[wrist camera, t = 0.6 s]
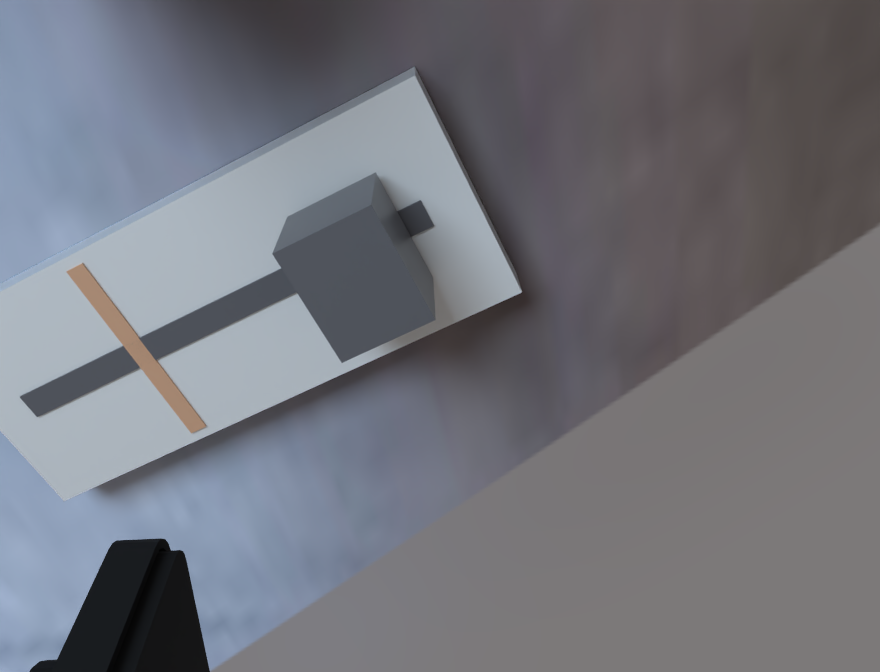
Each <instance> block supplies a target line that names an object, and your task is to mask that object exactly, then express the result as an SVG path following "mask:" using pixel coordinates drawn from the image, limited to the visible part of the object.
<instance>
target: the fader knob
mask: <svg viewBox="0 0 880 672" xmlns="http://www.w3.org/2000/svg"><path fill="white" fill-rule="evenodd" d="M272 254H273V256H274V258H275V259H276V261H277V262H278V264H279V265H280V267H281V269H282V270H283V272H284V273H285V275H286V276H287V278H288V280H289V281H290V283H291V284H292V286H293V287H294V289H295V290H296V292H297V294H298V295H299V297H300V298H301V300H302V301H303V303H304V305H305V306H306V308H307V309H308V311H309V312H310V314H311V316H312V317H313V319H314V320H315V322H316V323H317V325H318V327H319V328H320V330H321V331H322V333H323V334H324V336H325V338H326V339H327V341H328V342H329V344H330V345H331V347H332V349H333V350H334V352H335V353H336V355H337V356H338V358H339V360H340V361H341V363H343V362H345V361H347V360H350V359H352V358H354V357H356V356H358V355H360V354H363V353H365V352H367V351H369V350H371V349H373V348H376V347H378V346H380V345H382V344H384V343H387V342H389V341H391V340H393V339H395V338H397V337H400V336H402V335H404V334H406V333H408V332H411V331H413V330H415V329H417V328H419V327H421V326H424V325H426V324H428V323H430V322H432V321H435V320H436V317H435V300H434V282H433V276H432V274H431V272H430V271H429V269H428V267H427V265H426V263H425V261H424V260H423V258H422V256H421V254H420V252H419V250H418V249H417V247H416V245H415V243H414V241H413V239H412V238H411V236H410V234H409V232H408V230H407V228H406V227H405V225H404V223H403V221H402V219H401V217H400V216H399V214H398V212H397V210H396V208H395V206H394V205H393V203H392V201H391V199H390V197H389V195H388V194H387V192H386V190H385V188H384V186H383V184H382V183H381V181H380V179H379V177H378V175H377V173H376V172H375V173H373V174H371V175H369V176H367V177H365V178H363V179H361V180H359V181H357V182H355V183H353V184H351V185H349V186H347V187H345V188H343V189H341V190H339V191H337V192H335V193H333V194H332V195H330V196H328V197H326V198H324V199H322V200H320V201H318V202H316V203H314V204H312V205H310V206H308V207H306V208H304V209H302V210H300V211H298V212H296V213H294V214H292V215H290V216H288V217H287V219H286V221H285V224H284V226H283V228H282V231H281V233H280V236H279V238H278V241H277V243H276V246H275V248H274V251H273V253H272Z"/></svg>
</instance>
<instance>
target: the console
mask: <svg viewBox="0 0 880 672" xmlns="http://www.w3.org/2000/svg"><path fill="white" fill-rule="evenodd" d="M375 172H376V173H377V175H378V177H379V179H380V181H381V183H382V184H383V186H384V188H385V190H386V192H387V194H388V195H389V197H390V199H391V201H392V203H393V205H394V206H395V208H396V210H397V212H398V214H399V216H400V217H401V219H402V221H403V223H404V225H405V227H406V228H407V230H408V232H409V234H410V236H411V238H412V239H413V241H414V243H415V245H416V247H417V249H418V250H419V252H420V254H421V256H422V258H423V260H424V261H425V263H426V265H427V267H428V269H429V271H430V272H431V274H432V276H433V282H434V300H435V317H436V320H435V321H432V322H430V323H428V324H426V325H424V326H421V327H419V328H417V329H415V330H413V331H411V332H408V333H406V334H404V335H402V336H400V337H397V338H395V339H393V340H391V341H389V342H387V343H384V344H382V345H380V346H378V347H376V348H373V349H371V350H369V351H367V352H365V353H363V354H360V355H358V356H356V357H354V358H352V359H350V360H347V361H345V362H343V363H341V361H340V360H339V358H338V356H337V355H336V353H335V352H334V350H333V349H332V347H331V345H330V344H329V342H328V341H327V339H326V338H325V336H324V334H323V333H322V331H321V330H320V328H319V327H318V325H317V323H316V322H315V320H314V319H313V317H312V316H311V314H310V312H309V311H308V309H307V308H306V306H305V305H304V303H303V301H302V300H301V298H300V297H299V295H298V294H297V292H296V290H295V289H294V287H293V286H292V284H291V283H290V281H289V280H288V278H287V276H286V275H285V273H284V272H283V270H282V269H281V267H280V265H279V264H278V262H277V261H276V259H275V258H274V256H273V254H272V253H273V251H274V248H275V246H276V243H277V241H278V238H279V236H280V233H281V231H282V228H283V226H284V224H285V221H286V219H287V217H288V216H290V215H292V214H294V213H296V212H298V211H300V210H302V209H304V208H306V207H308V206H310V205H312V204H314V203H316V202H318V201H320V200H322V199H324V198H326V197H328V196H330V195H332V194H333V193H335V192H337V191H339V190H341V189H343V188H345V187H347V186H349V185H351V184H353V183H355V182H357V181H359V180H361V179H363V178H365V177H367V176H369V175H371V174H373V173H375ZM520 293H522V290H521V286H520V283H519V280H518V276H517V273H516V271H515V269H514V267H513V265H512V263H511V261H510V259H509V257H508V255H507V253H506V251H505V249H504V247H503V245H502V243H501V241H500V239H499V237H498V235H497V233H496V231H495V228H494V226H493V224H492V222H491V220H490V218H489V216H488V214H487V212H486V210H485V208H484V206H483V204H482V202H481V200H480V198H479V196H478V194H477V192H476V190H475V188H474V186H473V184H472V182H471V180H470V178H469V176H468V174H467V172H466V170H465V167H464V165H463V163H462V161H461V159H460V157H459V155H458V153H457V151H456V149H455V147H454V145H453V143H452V141H451V139H450V137H449V135H448V133H447V131H446V129H445V127H444V125H443V123H442V121H441V119H440V117H439V115H438V113H437V111H436V109H435V106H434V104H433V102H432V100H431V98H430V96H429V94H428V92H427V90H426V88H425V86H424V84H423V82H422V80H421V78H420V76H419V74H418V72H417V70H416V68H415V67H413V68H411V69H409V70H407V71H405V72H403V73H401V74H400V75H398V76H396V77H394V78H392V79H390V80H388V81H386V82H384V83H382V84H380V85H379V86H377V87H375V88H373V89H371V90H369V91H367V92H365V93H363V94H361V95H359V96H357V97H356V98H354V99H352V100H350V101H348V102H346V103H344V104H342V105H340V106H338V107H336V108H335V109H333V110H331V111H329V112H327V113H325V114H323V115H321V116H319V117H317V118H315V119H314V120H312V121H310V122H308V123H306V124H304V125H302V126H300V127H298V128H296V129H294V130H293V131H291V132H289V133H287V134H285V135H283V136H281V137H279V138H277V139H275V140H273V141H272V142H270V143H268V144H266V145H264V146H262V147H260V148H258V149H256V150H254V151H252V152H251V153H249V154H247V155H245V156H243V157H241V158H239V159H237V160H235V161H233V162H231V163H230V164H228V165H226V166H224V167H222V168H220V169H218V170H216V171H214V172H212V173H210V174H209V175H207V176H205V177H203V178H201V179H199V180H197V181H195V182H193V183H191V184H189V185H187V186H186V187H184V188H182V189H180V190H178V191H176V192H174V193H172V194H170V195H168V196H166V197H165V198H163V199H161V200H159V201H157V202H155V203H153V204H151V205H149V206H147V207H145V208H144V209H142V210H140V211H138V212H136V213H134V214H132V215H130V216H128V217H126V218H124V219H123V220H121V221H119V222H117V223H115V224H113V225H111V226H109V227H107V228H105V229H103V230H102V231H100V232H98V233H96V234H94V235H92V236H90V237H88V238H86V239H84V240H82V241H81V242H79V243H77V244H75V245H73V246H71V247H69V248H67V249H65V250H63V251H61V252H60V253H58V254H56V255H54V256H52V257H50V258H48V259H46V260H44V261H42V262H40V263H38V264H37V265H35V266H33V267H31V268H29V269H27V270H25V271H23V272H21V273H19V274H17V275H16V276H14V277H12V278H10V279H8V280H6V281H4V282H2V283H0V431H1V432H2V433H3V434H4V435H5V436H6V438H7V439H8V440H9V441H10V442H11V443H12V444H13V445H14V446H15V447H16V449H17V450H18V451H19V452H20V453H21V454H22V455H23V456H24V457H25V459H26V460H27V461H28V462H29V463H30V464H31V465H32V466H33V467H34V468H35V470H36V471H37V472H38V473H39V474H40V475H41V476H42V477H43V478H44V480H45V481H46V482H47V483H48V484H49V485H50V486H51V487H52V488H53V489H54V491H55V492H56V493H57V494H58V495H59V496H60V497H61V498H62V499H63V501H66V500H68V499H70V498H72V497H74V496H77V495H79V494H81V493H83V492H85V491H88V490H90V489H92V488H94V487H96V486H98V485H101V484H103V483H105V482H107V481H109V480H112V479H114V478H116V477H118V476H120V475H123V474H125V473H127V472H129V471H131V470H134V469H136V468H138V467H140V466H142V465H145V464H147V463H149V462H151V461H153V460H156V459H158V458H160V457H162V456H164V455H166V454H169V453H171V452H173V451H175V450H177V449H180V448H182V447H184V446H186V445H188V444H191V443H193V442H195V441H197V440H199V439H202V438H204V437H206V436H208V435H210V434H213V433H215V432H217V431H219V430H221V429H223V428H226V427H228V426H230V425H232V424H234V423H237V422H239V421H241V420H243V419H245V418H248V417H250V416H252V415H254V414H256V413H259V412H261V411H263V410H265V409H267V408H270V407H272V406H274V405H276V404H278V403H281V402H283V401H285V400H287V399H289V398H291V397H294V396H296V395H298V394H300V393H302V392H305V391H307V390H309V389H311V388H313V387H316V386H318V385H320V384H322V383H324V382H327V381H329V380H331V379H333V378H335V377H338V376H340V375H342V374H344V373H346V372H348V371H351V370H353V369H355V368H357V367H359V366H362V365H364V364H366V363H368V362H370V361H373V360H375V359H377V358H379V357H381V356H384V355H386V354H388V353H390V352H392V351H395V350H397V349H399V348H401V347H403V346H406V345H408V344H410V343H412V342H414V341H416V340H419V339H421V338H423V337H425V336H427V335H430V334H432V333H434V332H436V331H438V330H441V329H443V328H445V327H447V326H449V325H452V324H454V323H456V322H458V321H460V320H463V319H465V318H467V317H469V316H471V315H474V314H476V313H478V312H480V311H482V310H484V309H487V308H489V307H491V306H493V305H495V304H498V303H500V302H502V301H504V300H506V299H509V298H511V297H513V296H515V295H517V294H520Z"/></svg>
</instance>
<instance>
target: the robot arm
mask: <svg viewBox="0 0 880 672" xmlns="http://www.w3.org/2000/svg"><path fill="white" fill-rule="evenodd" d="M30 672H210V671H209V666H208V661H207V657H206V652H205V647H204V642H203V638H202V633H201V628H200V623H199V619H198V614H197V609H196V604H195V600H194V595H193V590H192V585H191V581H190V576H189V571H188V566H187V561H186V558H185V554H184V553H183V551H180V550H177V551H171V550H170V547H169V544H168V542H167V541H166V540H165V539H143V540H120V541H115V542H114V543H112V545H111V547H110V548H109V550H108V552H107V554H106V556H105V558H104V561H103V563H102V565H101V567H100V569H99V571H98V573H97V576H96V578H95V580H94V582H93V584H92V586H91V588H90V591H89V593H88V595H87V597H86V599H85V601H84V603H83V606H82V608H81V610H80V612H79V614H78V616H77V618H76V621H75V623H74V625H73V627H72V629H71V631H70V633H69V636H68V638H67V640H66V642H65V644H64V646H63V648H62V651H61V653H60V655H59V657H58V659H57V660H46V661H40V662H39V663H37V664H36V665H35V666H34V667H33V668H32V669H31V670H30Z"/></svg>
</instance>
